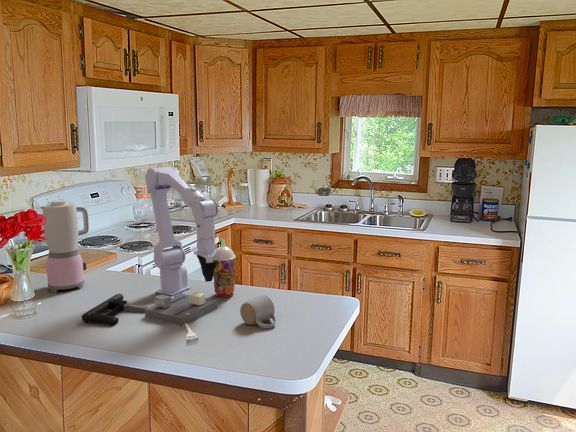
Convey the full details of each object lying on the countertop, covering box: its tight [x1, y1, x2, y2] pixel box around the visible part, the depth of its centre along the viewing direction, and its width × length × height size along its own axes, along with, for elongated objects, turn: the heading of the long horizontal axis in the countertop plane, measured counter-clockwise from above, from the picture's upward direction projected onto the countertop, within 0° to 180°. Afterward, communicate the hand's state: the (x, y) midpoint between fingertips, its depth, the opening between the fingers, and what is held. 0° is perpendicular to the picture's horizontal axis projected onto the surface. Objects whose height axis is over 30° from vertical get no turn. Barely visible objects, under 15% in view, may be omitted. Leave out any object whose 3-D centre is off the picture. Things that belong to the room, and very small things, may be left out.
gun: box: [81, 293, 149, 326], centre depth 164 cm, size 3×20×16 cm
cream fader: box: [188, 291, 206, 305], centre depth 164 cm, size 3×4×3 cm
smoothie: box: [213, 238, 237, 298], centre depth 178 cm, size 8×8×20 cm
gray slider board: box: [144, 292, 218, 327], centre depth 164 cm, size 17×15×3 cm
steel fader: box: [154, 294, 172, 308], centre depth 162 cm, size 3×4×3 cm
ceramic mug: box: [239, 294, 277, 329], centre depth 154 cm, size 11×8×8 cm
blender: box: [39, 199, 90, 293], centre depth 187 cm, size 16×12×32 cm
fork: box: [184, 323, 199, 341], centre depth 151 cm, size 3×20×2 cm, turn 20°
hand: (207, 278), depth 168 cm, fingers open, 5 cm apart
